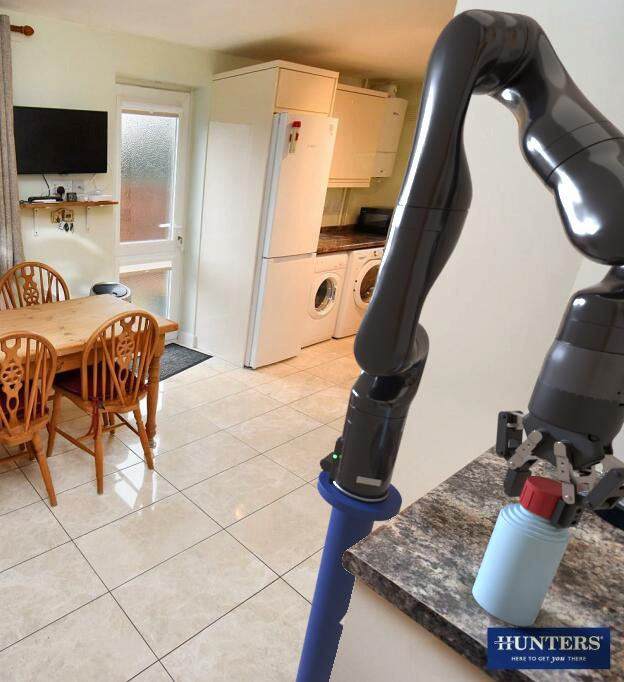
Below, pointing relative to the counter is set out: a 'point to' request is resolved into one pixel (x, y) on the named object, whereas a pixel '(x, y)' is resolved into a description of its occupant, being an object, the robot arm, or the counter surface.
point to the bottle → (519, 565)
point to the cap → (541, 495)
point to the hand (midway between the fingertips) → (535, 509)
